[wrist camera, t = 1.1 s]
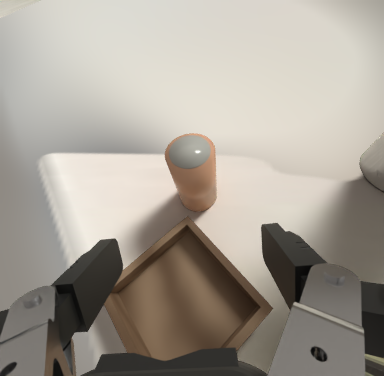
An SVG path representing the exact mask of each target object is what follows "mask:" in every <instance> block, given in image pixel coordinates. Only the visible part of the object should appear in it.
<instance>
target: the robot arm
mask: <svg viewBox="0 0 384 376" xmlns="http://www.w3.org/2000/svg"><path fill="white" fill-rule="evenodd" d="M360 168H361V171H362V173H363V175H364V176H365V177H366V178H367V180H368V181H369V182H371V183H372V184H373V185H374V186H376V187H377V188H379V189H380V190H382V191H384V133H383V134H382V135H381V136H380V137H379V138H378V139H377V140H376V141H375V142H374V143H373V144H372V145H371V146H370V147H369V148H368V149H367V150H366V151H365V152H364V153H363V154H362V156H361V158H360ZM261 232H262V252H263V258H264V261H265V264H266V266H267V267H268V269H269V271H270V273H271V275H272V277H273V279H274V281H275V282H276V284H277V286H278V288H279V290H280V292H281V294H282V296H283V298H284V299H285V301H286V303H287V305H288V307H289V309H290V314H289V317H288V320H287V322H286V325H285V328H284V331H283V334H282V336H281V339H280V342H279V345H278V347H277V350H276V353H275V356H274V359H273V361H272V364H271V367H270V370H269V373H268V374H266V373H265V372H263V371H262V370H260V369H258V368H256V367H254V366H252V365H249V364H247V363H244V362H240V361H238V359H237V353H236V347H233V348H214V349H200V350H198V351H195V352H192V353H189V354H186V355H183V356H180V357H177V358H174V359H171V360H167V361H162V360H158V359H155V358H151V357H147V356H144V355H140V354H136V353H120V354H102V355H101V357H100V359H99V362H98V364H97V366H96V368H95V369H94V370H91V371H89V372H87V373H85V374H83V375H81V376H365V354H368V355H372V356H376V357H380V358H384V284H376V283H369V282H363V281H360V279H359V278H358V277H357V276H356V275H355V274H354V273H353V272H351V271H349V270H348V269H346V268H343V267H341V266H338V265H334V264H328V263H327V262H326V261H325V260H323V259H322V258H321V257H320V256H319V255H318V254H317V253H316V252H315V251H314V250H313V249H312V248H310V246H309V245H308V244H307V243H305V241H304V240H303V239H302V238H301V237H300V236H298V235H296V234H294V233H292V232H290V231H288V232H285V231H284V230H283V229H282V228H281V226H280V225H279V224H278V223H272V224H262V227H261ZM122 270H123V263H122V259H121V254H120V250H119V246H118V242H117V240H116V239H104V240H100V241H99V242H98V243H97V244H96V245H95V246H94V247H93V248H92V249H91V250H90V251H88V252H87V253H85V254H83V255H82V256H81V257H80V258H79V259H78V260H77V261H76V262H75V263H74V264H73V265H72V266H70V269H67V270H66V271H65V272H64V273H63V274H62V275H61V276H60V277H59V278H58V279H57V280H56V281H55V282H54V283H53V284H52V285H51V286H43V287H40V288H37V289H34V290H32V291H30V292H28V293H26V294H25V295H23V296H22V297H20V298H19V299H18V300H16V301H15V302H14V303H13V304H12V306H11V307H10V309H8V310H4V311H1V312H0V376H76V366H75V353H74V343H73V340H72V336H73V334H74V333H75V332H88V330H89V329H90V327H91V325H92V323H93V322H94V320H95V318H96V317H97V315H98V313H99V312H100V310H101V308H102V307H103V305H104V303H105V301H106V300H107V298H108V296H109V295H110V293H111V291H112V290H113V288H114V286H115V285H116V283H117V281H118V279H119V278H120V276H121V274H122Z"/></svg>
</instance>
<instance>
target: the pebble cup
mask: <svg viewBox="0 0 384 376" xmlns="http://www.w3.org/2000/svg"><path fill="white" fill-rule="evenodd" d="M165 160H166V162H167V165H168V167H169V170H170V173H171V175H172V178H173V180H174V183H175V185H176V188H177V191H178V193H179V196H180V198H181V201H182V203H183V205H184V206H185V207H186V208H188V209H189V210H192V211H204V210H207V209H208V208H210V207H211V206H212V205H213V204H214V202H215V201H216V197H217V187H216V158H215V146H214V144H213V142H212V141H211V140H210V139H209V138H207V137H206V136H203V135H201V134H185V135H182V136H179V137H177V138H176V139H174V140H173V141H172V142H171V143H170V144H169V145H168V147H167V149H166V151H165Z"/></svg>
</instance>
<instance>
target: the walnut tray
mask: <svg viewBox="0 0 384 376" xmlns="http://www.w3.org/2000/svg"><path fill="white" fill-rule="evenodd" d="M104 305H105V307H106V309H107V311H108V313H109V315H110V317H111V320H112V322H113V324H114V326H115V328H116V330H117V332H118V334H119V336H120V338H121V340H122V342H123V344H124V346H125V348H126V351H127V353H136V354H140V355H144V356H147V357H151V358H155V359H158V360H162V361H167V360H171V359H174V358H177V357H180V356H183V355H186V354H189V353H192V352H195V351H198V350H200V349H214V348H233V347H236V351H237V350H238V349H239V348H240V347H241V345H242V344H243V343H244V342H245V341H246V340H247V338H248V337H249V336H250V335H251V334H252V333H253V331H254V330H255V329H256V328H257V327H258V326H259V324H260V323H261V322H262V321H263V320H264V319H265V317H266V316H267V315H268V314H269V313H270V312H271V310H272V309H273V308H272V307H271V305H270V304H269V303H268V302H267V301H266V300H265V299H264V298H263V297H262V296H261V295H260V294H259V292H258V291H257V290H256V289H255V288H254V287H253V286H252V285H251V284H250V283H249V282H248V281H247V279H246V278H245V277H244V276H243V275H242V274H241V273H240V272H239V271H238V270H237V269H236V268H235V266H234V265H233V264H232V263H231V262H230V261H229V260H228V259H227V258H226V257H225V256H224V255H223V253H222V252H221V251H220V250H219V249H218V248H217V247H216V246H215V245H214V244H213V243H212V242H211V241H210V239H209V238H208V237H207V236H206V235H205V234H204V233H203V232H202V231H201V230H200V229H199V228H198V226H197V225H196V224H195V223H194V222H193V221H192V220H191V219H190V218H189V217H188V216H187V217H186V218H185V219H183V220H182V221H181V222H180V223H179V224H178V225H176V226H175V227H174V228H173V229H172V230H170V231H169V232H168V233H167V234H166V235H164V236H163V237H162V238H161V239H160V240H159V241H157V242H156V243H155V244H154V245H153V246H151V247H150V248H149V249H148V250H147V251H145V252H144V253H143V254H142V255H141V256H140V257H138V258H137V259H136V260H135V261H134V262H132V263H131V264H130V265H129V266H128V267H126V268H125V269H124V270H123V271H122V274H121V276H120V278H119V279H118V281H117V283H116V285H115V286H114V288H113V290H112V291H111V293H110V295H109V296H108V298H107V300H106V301H105V303H104Z"/></svg>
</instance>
